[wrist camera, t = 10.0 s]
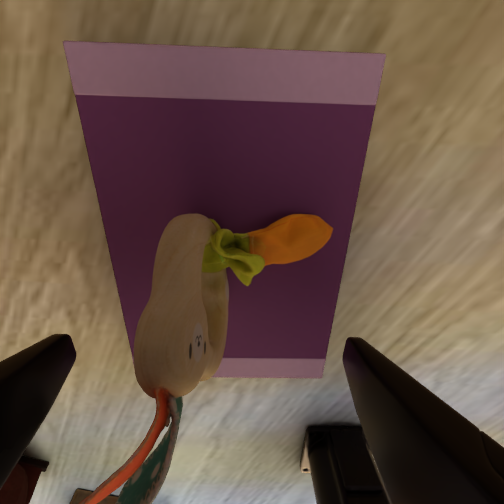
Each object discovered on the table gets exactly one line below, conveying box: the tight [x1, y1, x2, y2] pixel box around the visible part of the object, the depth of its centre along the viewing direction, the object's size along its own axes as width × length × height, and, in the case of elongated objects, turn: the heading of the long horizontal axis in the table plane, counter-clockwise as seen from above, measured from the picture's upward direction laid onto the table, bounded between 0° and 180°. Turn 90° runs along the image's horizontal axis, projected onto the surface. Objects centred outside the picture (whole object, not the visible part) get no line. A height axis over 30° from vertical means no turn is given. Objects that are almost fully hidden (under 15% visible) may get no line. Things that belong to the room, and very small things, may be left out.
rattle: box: [79, 214, 333, 504], centre depth 10 cm, size 8×8×12 cm
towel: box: [63, 41, 386, 378], centre depth 15 cm, size 20×14×1 cm
